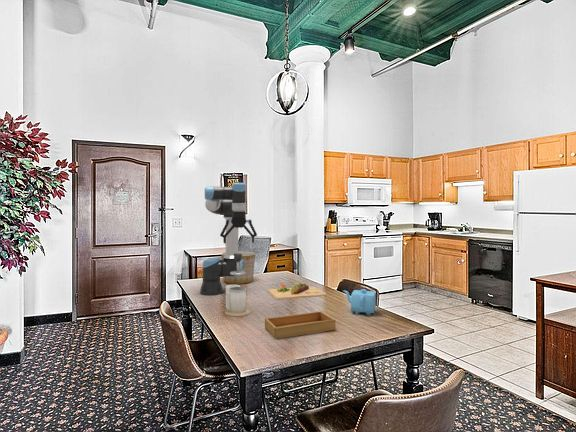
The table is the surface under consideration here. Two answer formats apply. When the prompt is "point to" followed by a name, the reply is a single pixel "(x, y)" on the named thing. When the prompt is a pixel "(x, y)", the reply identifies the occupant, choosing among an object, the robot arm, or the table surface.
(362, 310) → the teapot
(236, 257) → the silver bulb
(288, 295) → the cutting board
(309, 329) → the tray
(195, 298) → the table surface
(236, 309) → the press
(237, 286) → the mug
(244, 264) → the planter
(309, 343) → the table surface
